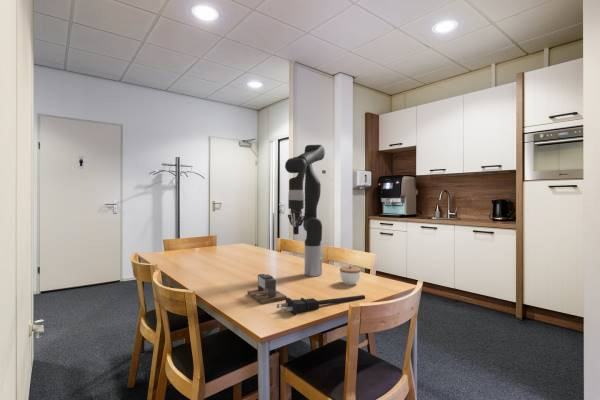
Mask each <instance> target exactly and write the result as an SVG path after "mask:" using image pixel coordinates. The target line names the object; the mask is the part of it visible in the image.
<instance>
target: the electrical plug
mask: <svg viewBox="0 0 600 400" xmlns="http://www.w3.org/2000/svg"><path fill="white" fill-rule="evenodd" d="M364 299H366V295H365V294H362V295H360V294H359V295H352V296H345V297H336V298H330V299H329V298H328V299H321V300H320V299H319V300H317V299H315V298H314V297H313V298H312V297H311V298H304V297H300V299H292V298H290V297H287V298H286V300H285V303H284V302H283V303H277V304H276V309H278V308H279V309H280V308H281V310H280V311H281V313H284V312H289V313H290V314H292V315H293V316H297V313H302V312H308V313H310V310H319V308H320V306H323V305H331V304H339V303H345V302H354V301H358V300H364Z"/></svg>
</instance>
